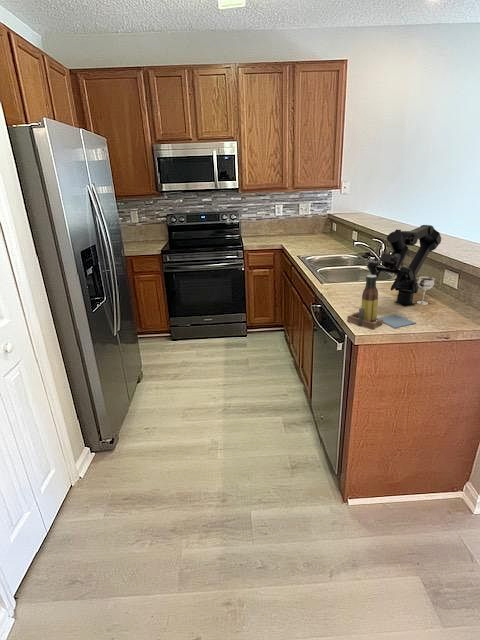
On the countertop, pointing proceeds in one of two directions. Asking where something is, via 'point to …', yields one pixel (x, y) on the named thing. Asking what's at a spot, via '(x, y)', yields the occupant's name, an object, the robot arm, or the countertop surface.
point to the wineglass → (425, 286)
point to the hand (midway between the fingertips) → (380, 287)
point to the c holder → (359, 320)
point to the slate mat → (396, 321)
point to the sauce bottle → (370, 299)
